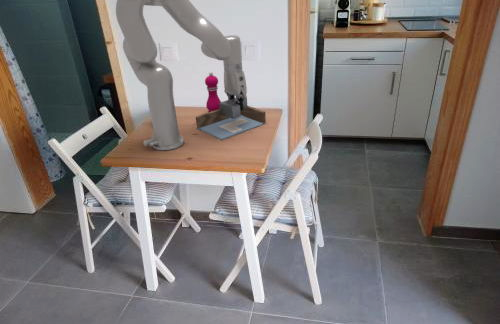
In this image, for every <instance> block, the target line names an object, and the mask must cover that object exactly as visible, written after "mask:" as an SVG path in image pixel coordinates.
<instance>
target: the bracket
mask: <svg viewBox="0 0 500 324" xmlns="http://www.w3.org/2000/svg"><path fill="white" fill-rule="evenodd" d="M239 98H240V97H239ZM236 103H237V100H236V97H235V98H233V99H230V100H228V99H227V100H224V101H221V102H220V103H219V108H220V114H221V115H224V116H226V117H229V118H231V119H235V118H238V117H241V113H240V105H238V104H236ZM247 106H248V97H246V98H245V99H244V101H243V110H245V109H248V107H247ZM243 110H242V111H243Z"/></svg>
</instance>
